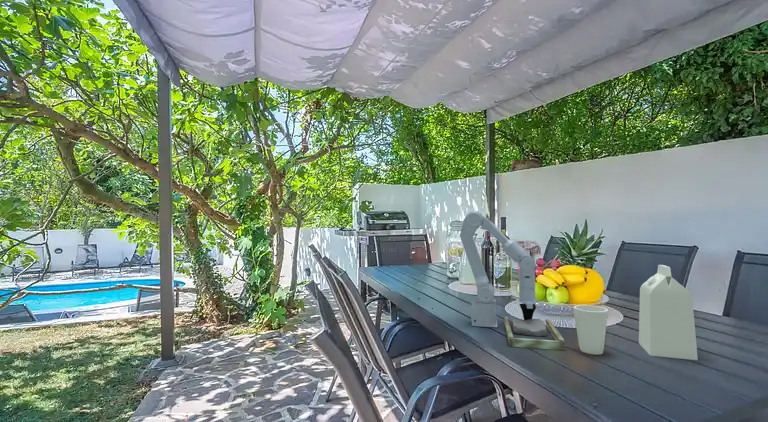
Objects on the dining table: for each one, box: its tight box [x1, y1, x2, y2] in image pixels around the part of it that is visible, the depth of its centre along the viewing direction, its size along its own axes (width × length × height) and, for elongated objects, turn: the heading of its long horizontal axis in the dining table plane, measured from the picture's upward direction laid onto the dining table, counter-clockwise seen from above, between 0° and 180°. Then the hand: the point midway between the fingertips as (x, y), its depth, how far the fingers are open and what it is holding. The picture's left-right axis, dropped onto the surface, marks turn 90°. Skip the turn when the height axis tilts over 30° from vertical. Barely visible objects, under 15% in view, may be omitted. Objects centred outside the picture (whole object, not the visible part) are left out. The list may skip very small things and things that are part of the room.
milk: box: [638, 264, 698, 361], centre depth 116 cm, size 12×12×26 cm
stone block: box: [510, 318, 548, 337], centre depth 137 cm, size 12×5×10 cm
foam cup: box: [573, 304, 609, 356], centre depth 117 cm, size 10×9×13 cm
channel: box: [503, 316, 566, 351], centre depth 133 cm, size 17×28×3 cm, turn 165°
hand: (527, 323), depth 142 cm, fingers closed
